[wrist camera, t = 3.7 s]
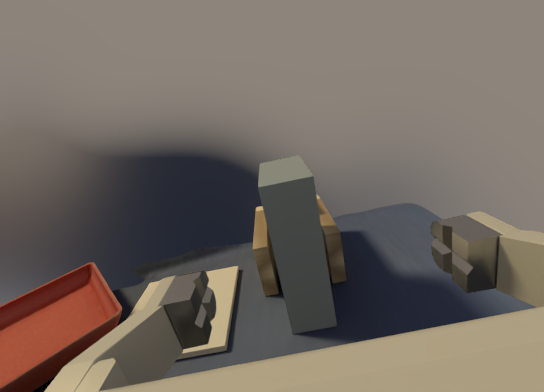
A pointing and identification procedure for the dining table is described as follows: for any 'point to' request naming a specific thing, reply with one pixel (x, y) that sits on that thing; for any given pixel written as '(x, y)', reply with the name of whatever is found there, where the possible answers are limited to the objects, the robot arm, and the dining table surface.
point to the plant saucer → (53, 327)
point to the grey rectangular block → (297, 242)
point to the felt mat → (224, 292)
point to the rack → (267, 259)
